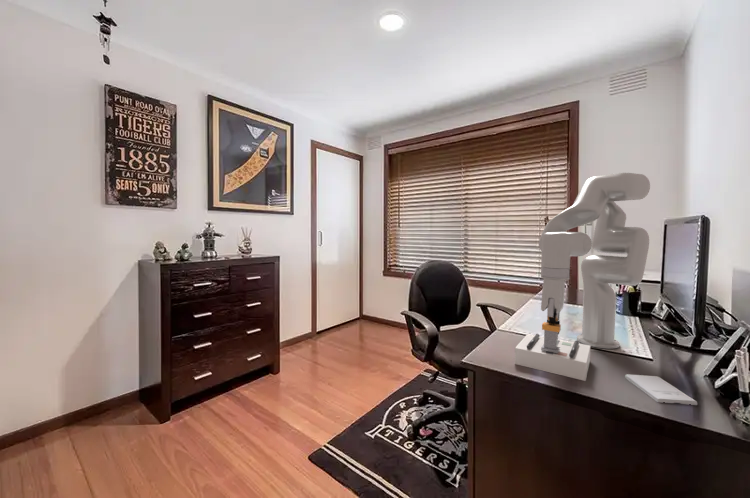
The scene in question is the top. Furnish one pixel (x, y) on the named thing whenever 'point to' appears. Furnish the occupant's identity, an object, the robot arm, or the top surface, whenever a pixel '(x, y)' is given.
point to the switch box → (554, 357)
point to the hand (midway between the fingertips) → (552, 333)
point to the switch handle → (551, 337)
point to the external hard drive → (660, 389)
